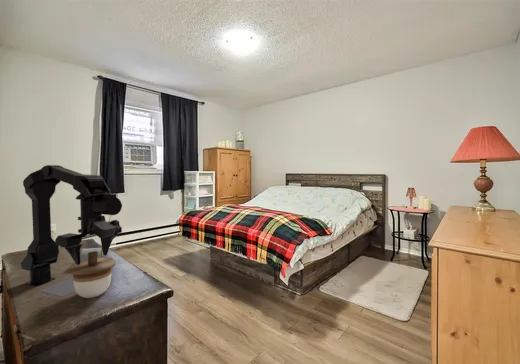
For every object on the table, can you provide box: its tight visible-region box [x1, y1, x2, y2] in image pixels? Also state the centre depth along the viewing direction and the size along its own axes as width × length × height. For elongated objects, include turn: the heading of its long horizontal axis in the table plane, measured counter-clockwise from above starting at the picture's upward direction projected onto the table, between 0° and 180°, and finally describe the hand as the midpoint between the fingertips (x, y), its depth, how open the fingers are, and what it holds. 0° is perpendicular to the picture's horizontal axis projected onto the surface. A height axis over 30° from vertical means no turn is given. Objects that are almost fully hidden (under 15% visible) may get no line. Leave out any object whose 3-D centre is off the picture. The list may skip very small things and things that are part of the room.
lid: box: [67, 251, 116, 275], centre depth 81 cm, size 13×13×5 cm
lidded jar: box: [72, 267, 113, 299], centre depth 81 cm, size 11×11×9 cm
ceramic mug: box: [80, 247, 105, 261], centre depth 108 cm, size 11×8×8 cm
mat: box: [39, 277, 76, 298], centre depth 86 cm, size 12×12×1 cm
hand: (92, 259), depth 81 cm, fingers open, 9 cm apart
